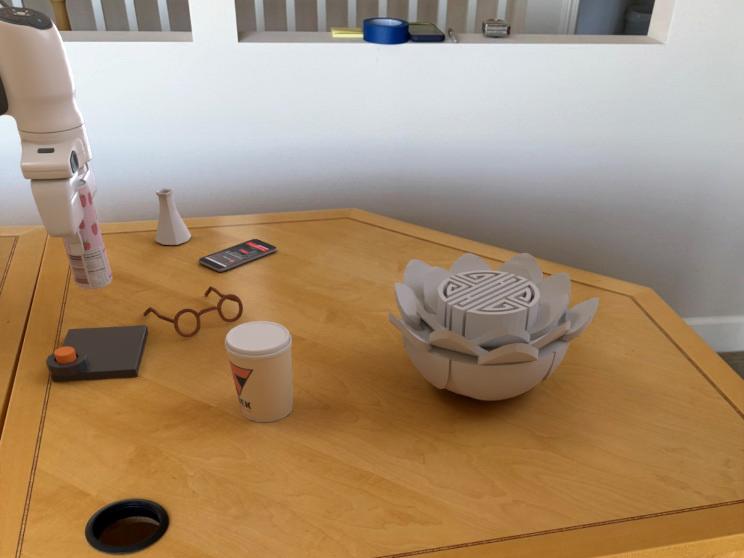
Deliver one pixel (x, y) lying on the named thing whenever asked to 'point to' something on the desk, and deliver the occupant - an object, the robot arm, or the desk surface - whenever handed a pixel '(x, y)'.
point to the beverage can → (89, 247)
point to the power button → (65, 355)
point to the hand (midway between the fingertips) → (83, 244)
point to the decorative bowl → (487, 324)
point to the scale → (101, 353)
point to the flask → (170, 221)
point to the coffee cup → (261, 369)
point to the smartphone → (237, 255)
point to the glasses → (201, 312)
